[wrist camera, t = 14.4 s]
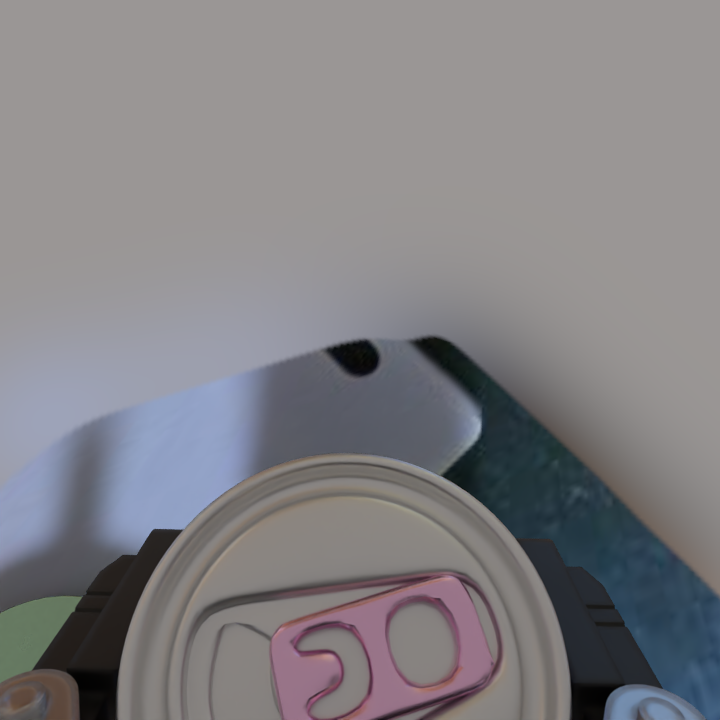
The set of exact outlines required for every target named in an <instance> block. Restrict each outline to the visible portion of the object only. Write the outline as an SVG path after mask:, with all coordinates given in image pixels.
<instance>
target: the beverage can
mask: <svg viewBox="0 0 720 720" xmlns="http://www.w3.org/2000/svg"><path fill="white" fill-rule="evenodd" d="M115 719H116V720H572V692H571V680H570V671H569V664H568V658H567V652H566V648H565V643H564V639H563V635H562V631H561V628H560V625H559V621H558V618H557V615H556V612H555V610H554V607H553V604H552V602H551V599H550V597H549V595H548V593H547V590H546V588H545V586H544V584H543V582H542V580H541V578H540V576H539V574H538V572H537V571H536V569H535V567H534V565H533V564H532V562H531V561H530V559H529V557H528V556H527V554H526V553H525V551H524V550H523V548H522V547H521V546H520V544H519V543H518V542H517V540H516V539H515V538H514V536H513V535H512V534H511V533H510V532H509V530H508V529H507V528H506V527H505V526H504V525H503V524H502V523H501V522H500V520H499V519H498V518H497V517H496V516H495V515H494V514H493V513H492V512H491V511H489V510H488V509H487V508H486V507H485V506H484V505H483V504H482V503H480V502H479V501H478V500H477V499H475V498H474V497H473V496H471V495H470V494H469V493H468V492H466V491H465V490H463V489H462V488H460V487H459V486H457V485H456V484H454V483H452V482H451V481H449V480H447V479H445V478H443V477H442V476H440V475H438V474H436V473H433V472H431V471H429V470H427V469H425V468H422V467H419V466H417V465H414V464H411V463H408V462H405V461H402V460H398V459H394V458H389V457H385V456H379V455H372V454H362V453H331V454H321V455H314V456H308V457H304V458H299V459H295V460H291V461H288V462H285V463H282V464H279V465H276V466H274V467H271V468H268V469H266V470H264V471H261V472H259V473H257V474H255V475H253V476H251V477H249V478H247V479H246V480H244V481H242V482H240V483H239V484H237V485H235V486H234V487H232V488H231V489H229V490H228V491H226V492H225V493H223V494H222V495H221V496H219V497H218V498H217V499H216V500H214V501H213V502H212V503H210V504H209V505H208V506H207V507H206V508H205V509H204V510H203V511H201V512H200V513H199V514H198V515H197V516H196V517H195V518H194V519H193V520H192V521H191V522H190V523H189V524H188V525H187V526H186V528H185V529H184V530H183V531H182V532H181V533H180V535H179V536H178V537H177V538H176V539H175V541H174V542H173V543H172V545H171V546H170V547H169V549H168V550H167V551H166V553H165V554H164V556H163V557H162V559H161V560H160V562H159V563H158V565H157V567H156V568H155V570H154V572H153V573H152V575H151V577H150V579H149V581H148V583H147V584H146V586H145V589H144V591H143V593H142V595H141V597H140V599H139V602H138V604H137V607H136V609H135V612H134V614H133V617H132V620H131V623H130V626H129V629H128V633H127V636H126V639H125V644H124V648H123V652H122V656H121V662H120V668H119V674H118V682H117V692H116V717H115Z"/></svg>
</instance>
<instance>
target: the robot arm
mask: <svg viewBox="0 0 720 720" xmlns="http://www.w3.org/2000/svg"><path fill="white" fill-rule="evenodd" d="M182 531H183V530H175V529H154V530H153V531H152V532H151V533H150V535H149V536H148V538H147V539H146V541H145V543H144V544H143V546H142V547H141V549H140V551H139V552H138V554H137V555H122V556H121V557H119V558H118V559H117V560H115V561H114V562H112V563H111V564H110V565H108V566H107V567H106V568H104V569H103V570H102V571H100V572H99V574H98V575H97V577H96V578H95V580H94V581H93V583H92V584H91V585H90V587H89V588H88V590H87V591H86V595H84V596H83V597H82V598H81V600H80V601H79V603H78V604H77V606H76V607H75V612H72V613H71V614H70V616H69V617H68V619H67V620H66V622H65V623H64V624H63V626H62V627H61V629H60V630H59V632H58V633H57V635H56V636H55V637H54V639H53V640H52V642H51V643H50V645H49V646H48V648H47V649H46V650H45V652H44V653H43V655H42V656H41V658H40V659H39V661H38V662H37V663H36V665H35V666H34V668H33V669H32V671H28V672H24V673H21V674H18V675H15V676H13V677H11V678H9V679H6V680H5V681H3V682H1V683H0V720H116V719H115V717H116V692H117V682H118V674H119V668H120V662H121V656H122V652H123V648H124V644H125V639H126V636H127V633H128V629H129V626H130V623H131V620H132V617H133V614H134V612H135V609H136V607H137V604H138V602H139V599H140V597H141V595H142V593H143V591H144V589H145V586H146V584H147V583H148V581H149V579H150V577H151V575H152V573H153V572H154V570H155V568H156V567H157V565H158V563H159V562H160V560H161V559H162V557H163V556H164V554H165V553H166V551H167V550H168V549H169V547H170V546H171V545H172V543H173V542H174V541H175V539H176V538H177V537H178V536H179V535H180V533H181V532H182ZM515 539H516V540H517V542H518V543H519V544H520V546H521V547H522V548H523V550H524V551H525V553H526V554H527V556H528V557H529V559H530V561H531V562H532V564H533V565H534V567H535V569H536V571H537V572H538V574H539V576H540V578H541V580H542V582H543V584H544V586H545V588H546V590H547V593H548V595H549V597H550V599H551V602H552V604H553V607H554V610H555V612H556V615H557V618H558V621H559V625H560V628H561V631H562V635H563V639H564V643H565V648H566V652H567V658H568V664H569V671H570V680H571V692H572V720H706V719H705V717H704V716H703V715H702V714H701V713H700V712H699V711H698V710H697V709H696V708H695V707H693V706H692V705H691V704H690V703H688V702H687V701H685V700H684V699H682V698H680V697H679V696H677V695H675V694H673V693H671V692H669V691H666V690H664V689H663V688H662V686H661V685H660V683H659V681H658V680H657V678H656V676H655V674H654V673H653V671H652V669H651V667H650V666H649V664H648V662H647V661H646V659H645V657H644V655H643V654H642V652H641V650H640V648H639V647H638V645H637V643H636V642H635V640H634V638H633V636H632V635H631V633H630V631H629V630H628V628H627V627H625V625H624V621H623V619H622V617H621V616H620V614H619V612H618V611H617V610H615V607H614V606H615V605H614V604H613V602H612V600H611V599H610V597H609V595H608V593H607V592H606V590H605V588H604V586H603V585H602V584H601V583H600V582H599V581H597V580H596V579H595V578H594V577H593V576H591V575H590V574H589V573H588V572H587V571H585V570H584V569H583V568H582V567H566V566H565V564H564V562H563V560H562V558H561V556H560V554H559V552H558V550H557V548H556V546H555V544H554V543H553V541H552V540H550V539H519V538H515Z"/></svg>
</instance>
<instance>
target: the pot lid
mask: <svg viewBox="0 0 720 720" xmlns="http://www.w3.org/2000/svg"><path fill="white" fill-rule="evenodd" d="M81 598H82V596H54V597H46V598H41V599H37V600H32V601H28V602H26V603H23V604H20V605H17V606H14V607H12V608H10V609H8V610H6V611H4V612H2V613H0V683H1V682H3V681H5V680H6V679H9V678H11V677H13V676H15V675H18V674H21V673H24V672H28V671H32V669H33V668H34V666H35V665H36V663H37V662H38V661H39V659H40V658H41V656H42V655H43V653H44V652H45V650H46V649H47V648H48V646H49V645H50V643H51V642H52V640H53V639H54V637H55V636H56V635H57V633H58V632H59V630H60V629H61V627H62V626H63V624H64V623H65V622H66V620H67V619H68V617H69V616H70V614H71V613H72V612H75V607H76V606H77V604H78V603H79V601H80V600H81Z"/></svg>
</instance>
